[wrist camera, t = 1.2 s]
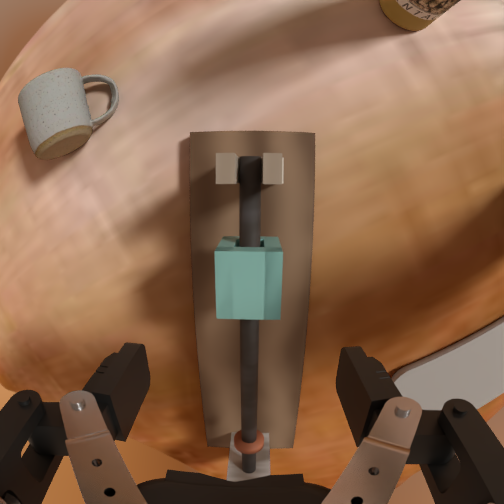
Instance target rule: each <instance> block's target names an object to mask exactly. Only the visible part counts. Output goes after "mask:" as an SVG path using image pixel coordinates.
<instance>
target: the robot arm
mask: <svg viewBox="0 0 504 504" xmlns="http://www.w3.org/2000/svg"><path fill="white" fill-rule="evenodd" d="M149 386H150V372H149V367H148V361H147V355H146V350H145V346H144V345H143V344H137V343H125V344H124V345H123V347H122V348H121V350H120V351H119V352H118V353H113V354H111V355H110V356H108V357H106V358H105V359H104V361H103V362H102V363H101V365H100V367H98V369H97V370H96V373H94V374H93V376H92V377H91V378H90V380H89V381H88V382H87V384H86V385H85V387H84V388H83V389H82V391H81V390H79V391H73V392H70V393H68V394H66V395H64V396H63V397H62V398H61V400H60V402H42V399H41V397H40V395H39V394H38V393H37V392H35V391H33V390H23V391H20V392H17V393H16V394H15V395H13V396H12V397H11V398H10V400H9V401H8V402H7V403H6V404H5V406H4V407H3V408H2V409H1V411H0V504H42V501H43V499H44V497H45V495H46V492H47V490H48V488H49V486H50V484H51V482H52V479H53V477H54V475H55V473H56V471H57V469H58V467H59V465H60V463H61V460H62V459H63V456H69V457H70V461H71V464H72V467H73V470H74V473H75V476H76V479H77V482H78V485H79V488H80V491H81V493H82V496H83V498H84V501H85V503H86V504H387V503H388V502H389V499H390V497H391V495H392V493H393V491H394V489H395V487H396V484H397V482H398V480H399V478H400V475H401V473H402V471H403V468H404V466H405V464H419V465H420V467H421V470H422V472H423V475H424V477H425V479H426V482H427V484H428V487H429V489H430V492H431V494H432V497H433V499H434V502H435V504H504V448H503V446H502V445H501V443H500V442H499V440H498V439H497V437H496V436H495V434H494V433H493V432H492V430H491V429H490V427H489V426H488V425H487V423H486V422H485V420H484V419H483V418H482V416H481V415H480V413H479V412H478V411H477V409H476V408H475V407H474V406H473V404H471V403H470V402H468V401H466V400H463V399H450V400H448V401H447V402H445V403H444V405H443V408H442V410H422V408H421V406H420V404H419V403H418V402H416V401H415V400H413V399H411V398H407V397H403V396H402V395H401V393H400V392H399V390H398V388H397V387H396V385H395V384H394V382H393V380H392V379H391V378H390V376H389V374H388V373H387V372H386V370H385V368H384V366H383V365H382V363H381V362H379V361H378V360H376V359H375V358H373V357H367V356H366V354H365V352H364V351H363V349H362V348H361V347H360V346H356V347H343V348H342V349H341V353H340V359H339V365H338V371H337V376H336V390H337V394H338V396H339V399H340V402H341V404H342V407H343V410H344V413H345V415H346V418H347V421H348V424H349V426H350V429H351V432H352V435H353V438H354V440H355V443H356V446H357V447H359V448H358V449H357V451H356V453H355V454H354V456H353V457H352V459H351V461H350V462H349V464H348V465H347V467H346V469H345V470H344V472H343V473H342V475H341V476H340V478H339V479H338V481H337V482H336V484H335V485H334V486H333V488H332V489H328V488H326V487H323V486H320V485H317V484H312V483H306V482H304V479H303V474H290V475H268V476H264V477H259V478H254V479H248V480H243V481H236V482H233V481H228V480H224V479H220V478H216V477H212V476H208V475H205V474H201V473H193V472H182V471H175V470H167V474H166V478H160V479H154V480H149V481H146V482H143V483H140V484H138V485H136V483H135V482H134V480H133V478H132V476H131V474H130V472H129V471H128V469H127V467H126V465H125V463H124V461H123V459H122V457H121V455H120V453H119V451H118V449H117V447H116V445H115V442H114V441H115V440H120V441H126V439H127V437H128V435H129V432H130V430H131V428H132V425H133V423H134V421H135V419H136V416H137V414H138V412H139V410H140V407H141V405H142V403H143V401H144V398H145V396H146V394H147V392H148V389H149ZM27 441H29V443H30V444H29V446H28V448H27V449H26V451H25V453H24V454H23V456H22V458H21V451H22V449H23V447H24V445H25V444H26V442H27ZM455 453H456V454H455ZM456 455H457V456H456ZM457 457H458V458H457ZM458 459H459V460H458ZM459 461H460V462H459Z"/></svg>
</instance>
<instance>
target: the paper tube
mask: <svg viewBox="0 0 504 504" xmlns="http://www.w3.org/2000/svg"><path fill="white" fill-rule="evenodd" d="M459 1H460V0H379V2H380V5H381V8H382V10H383V12H384V13H385V15H386V16H387V17H388V18H389V19H390V20H391V21H392V22H393V23H395V24H396V25H398V26H400V27H402V28H404V29H407V30H411V31H419V30H422V29H424V28H426V27H427V26H428V25H429V24H431V23H432V22H433V21H434V20H436V19H437V18H438V17H440V16H441V15H442V14H444V13H445V12H446V11H447V10H449V9H450V8H451V7H452V6H454V5H455V4H456V3H458V2H459Z"/></svg>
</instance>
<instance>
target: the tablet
mask: <svg viewBox="0 0 504 504" xmlns="http://www.w3.org/2000/svg"><path fill="white" fill-rule="evenodd" d="M391 379H392V380H393V382H394V384H395V385H396V387H397V388H398V390H399V392H400V393H401V395H402V396H403V397H407V398H411V399H413V400H415V401H416V402H418V403H419V404H420V406H421V408H422V410H442V408H443V405H444V403H445V402H447V401H448V400H450V399H463V400H466V401H468V402H470V403H471V404H473V406H474V407H475V408H476V409H478V408H480V407H482V406H483V405H485V404H486V403H488V402H490V401H491V400H493V399H494V398H496V397H498V396H499V395H501V394H502V393H504V317H502V318H501V319H499V320H497V321H496V322H494V323H492V324H490V325H489V326H487V327H485V328H483V329H482V330H480V331H478V332H476V333H474V334H472V335H470V336H469V337H467V338H465V339H463V340H461V341H459V342H457V343H455V344H453V345H451V346H449V347H447V348H445V349H443V350H441V351H439V352H436V353H434V354H432V355H430V356H428V357H426V358H423V359H421V360H419V361H417V362H414V363H412V364H410V365H407V366H405V367H403V368H401V369H400V370H398V371H397V372H396V373H395V374H394V375H393V377H392V378H391Z"/></svg>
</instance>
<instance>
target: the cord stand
mask: <svg viewBox="0 0 504 504" xmlns="http://www.w3.org/2000/svg"><path fill="white" fill-rule="evenodd" d="M314 188H315V133H306V132H282V131H213V132H190V227H191V257H192V279H193V298H194V314H195V328H196V341H197V353H198V365H199V375H200V385H201V395H202V404H203V413H204V421H205V429H206V437H207V445H208V446H211V447H226V448H230V452H229V462H228V471H227V480H228V481H233V482H236V481H243V480H248V479H254V478H259V477H264V476H268V475H270V449H271V448H293V444H294V437H295V430H296V423H297V415H298V407H299V399H300V391H301V382H302V373H303V364H304V354H305V343H306V333H307V321H308V308H309V295H310V280H311V264H312V245H313V222H314ZM223 236H239V247H260V237H278V238H279V241H280V244H281V247H282V250H283V268H282V295H281V318H280V320H252V319H217V317H216V289H215V250H216V248H217V246H218V245H219V243H220V241H221V239H222V238H223Z"/></svg>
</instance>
